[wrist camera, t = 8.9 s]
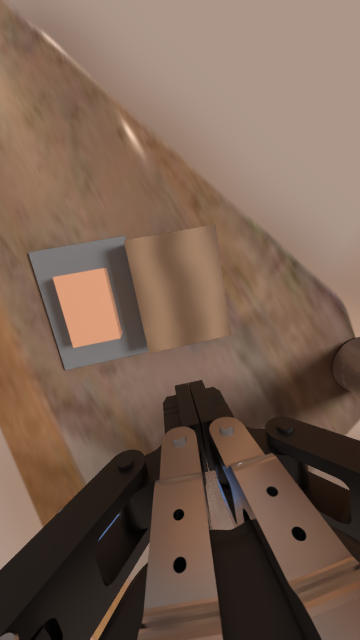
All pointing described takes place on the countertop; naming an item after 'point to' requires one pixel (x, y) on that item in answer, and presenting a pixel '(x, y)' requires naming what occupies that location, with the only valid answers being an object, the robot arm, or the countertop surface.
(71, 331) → the orange rectangular block
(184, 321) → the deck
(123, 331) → the mat
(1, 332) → the countertop surface
